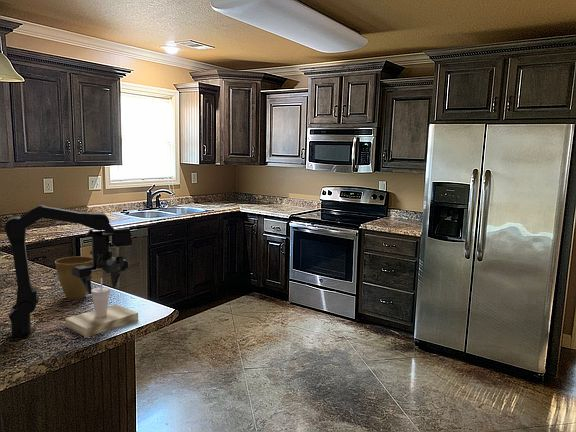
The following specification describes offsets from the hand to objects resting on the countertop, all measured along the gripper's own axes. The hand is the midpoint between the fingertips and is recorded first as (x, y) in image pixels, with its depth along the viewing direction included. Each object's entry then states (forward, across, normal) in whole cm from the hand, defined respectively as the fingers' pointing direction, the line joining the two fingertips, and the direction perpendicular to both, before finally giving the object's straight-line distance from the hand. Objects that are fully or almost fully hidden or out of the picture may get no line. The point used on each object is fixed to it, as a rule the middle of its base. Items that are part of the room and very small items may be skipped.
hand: (102, 290), depth 158 cm
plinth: (+12, 0, 0) cm, 12 cm away
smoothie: (+9, 0, 0) cm, 9 cm away
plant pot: (+12, +9, +36) cm, 39 cm away
